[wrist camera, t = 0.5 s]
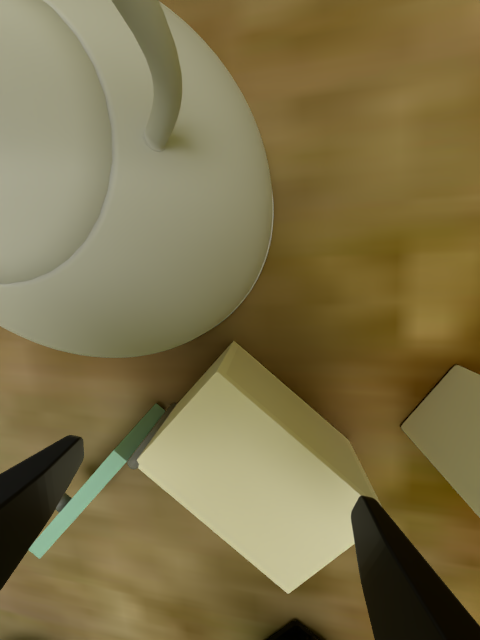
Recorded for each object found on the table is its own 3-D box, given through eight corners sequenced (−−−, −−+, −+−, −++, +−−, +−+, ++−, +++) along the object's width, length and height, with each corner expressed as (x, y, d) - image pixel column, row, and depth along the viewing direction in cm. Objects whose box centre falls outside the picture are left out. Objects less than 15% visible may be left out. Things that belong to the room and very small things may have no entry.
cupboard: (279, 501, 25) (284, 597, 17) (168, 407, 24) (125, 463, 17) (348, 440, 23) (387, 518, 16) (230, 337, 23) (211, 366, 15)
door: (146, 394, 24) (100, 439, 17) (165, 411, 24) (126, 461, 17) (79, 474, 26) (16, 539, 20) (96, 489, 26) (39, 558, 20)
